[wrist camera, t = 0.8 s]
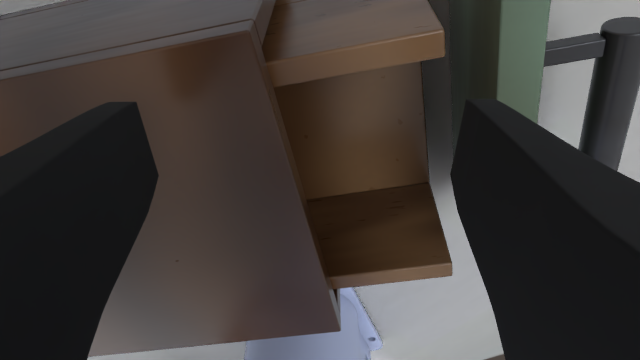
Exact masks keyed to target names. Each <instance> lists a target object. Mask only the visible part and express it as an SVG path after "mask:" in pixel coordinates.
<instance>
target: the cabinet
mask: <svg viewBox="0 0 640 360" xmlns="http://www.w3.org/2000/svg"><path fill="white" fill-rule="evenodd" d="M275 2H276V0H68V1H64V2H59V3H55V4H50V5H46V6H41V7H37V8H32V9H28V10H23V11H19V12H15V13H10V14H6V15H1V16H0V157H1V156H3V155H5V154H7V153H9V152H11V151H13V150H15V149H17V148H19V147H21V146H23V145H24V144H26V143H28V142H30V141H32V140H34V139H36V138H38V137H39V136H41V135H43V134H45V133H47V132H49V131H50V130H52V129H54V128H56V127H58V126H60V125H62V124H63V123H65V122H67V121H69V120H71V119H73V118H75V117H77V116H79V115H80V114H82V113H84V112H86V111H88V110H90V109H93V108H95V107H97V106H99V105H102V104H104V103H107V102H137V105H138V109H139V112H140V115H141V119H142V122H143V125H144V128H145V132H146V135H147V138H148V141H149V145H150V148H151V151H152V155H153V158H154V161H155V164H156V168H157V171H158V174H159V177H158V181H157V184H156V188H155V192H154V196H153V199H152V202H151V205H150V209H149V212H148V214H147V216H146V219H145V221H144V223H143V225H142V228H141V230H140V232H139V234H138V236H137V239H136V241H135V243H134V245H133V247H132V249H131V251H130V253H129V255H128V258H127V260H126V262H125V264H124V266H123V268H122V270H121V272H120V275H119V277H118V279H117V281H116V283H115V285H114V287H113V289H112V292H111V294H110V296H109V298H108V301H107V303H106V306H105V308H104V311H103V313H102V316H101V319H100V322H99V325H98V328H97V331H96V334H95V337H94V340H93V343H92V345H91V348H90V351H89V354H88V357H93V356H103V355H112V354H122V353H132V352H142V351H152V350H162V349H172V348H182V347H192V346H202V345H212V344H221V343H231V342H241V341H251V340H261V339H271V338H281V337H291V336H301V335H311V334H321V333H331V332H340V331H341V315H340V313H341V310H340V289H333V288H332V285H331V281H330V278H329V275H328V271H327V268H326V264H325V261H324V258H323V254H322V251H321V247H320V244H319V241H318V237H317V234H316V231H315V227H314V224H313V220H312V217H311V214H310V210H309V207H308V203H307V200H306V197H305V193H304V190H303V187H302V183H301V180H300V176H299V173H298V170H297V166H296V163H295V160H294V156H293V153H292V149H291V146H290V143H289V139H288V136H287V132H286V129H285V126H284V122H283V119H282V116H281V112H280V109H279V105H278V102H277V99H276V95H275V92H274V88H273V85H272V82H271V78H270V75H269V72H268V68H267V65H266V61H265V58H264V55H263V51H262V48H261V47H262V44H263V41H264V37H265V34H266V31H267V28H268V24H269V21H270V18H271V15H272V11H273V8H274V5H275Z"/></svg>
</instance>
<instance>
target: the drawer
mask: <svg viewBox="0 0 640 360" xmlns="http://www.w3.org/2000/svg"><path fill="white" fill-rule="evenodd" d="M550 3H551V0H449V14H450V54H451V94H452V135H453V160H454V155H455V150H456V145H457V140H458V135H459V131H460V126H461V121H462V116H463V111H464V106H465V101H466V99H496V100H498V101H500V102H502V103H504V104H506V105H507V106H509V107H511V108H512V109H514V110H516V111H517V112H519V113H521V114H522V115H524V116H525V117H527V118H528V119H530V120H532V121H533V122H535V123H536V124H537V119H538V110H539V101H540V92H541V83H542V74H543V67H545V66H551V65H557V64H563V63H569V62H574V61H580V60H586V59H592V58H595V62H594V68H593V73H592V79H591V84H590V89H589V95H588V100H587V105H586V111H585V116H584V122H583V127H582V132H581V138H580V143H579V148H578V150H580V151H581V152H583V153H585V154H586V155H588V156H590V157H592V158H594V159H595V160H597V161H599V162H601V163H603V164H605V165H606V166H608V167H610V168H612V169H614V170H615V171H617V170H618V166H619V163H620V159H621V155H622V151H623V147H624V143H625V140H626V136H627V132H628V128H629V124H630V120H631V116H632V113H633V109H634V105H635V101H636V97H637V93H638V90H639V86H640V18H638V17H621V18H615V19H611V20H608V21H606V22H604V23H603V25H602V26H601V30H600V34H599V33H593V34H587V35H582V36H576V37H571V38H565V39H560V40H554V41H549V42H546V38H547V29H548V20H549V12H550ZM261 48H262V51H263V55H264V58H265V61H266V65H267V68H268V72H269V75H270V78H271V82H272V85H273V88H274V92H275V95H276V99H277V102H278V105H279V109H280V112H281V116H282V119H283V122H284V126H285V129H286V132H287V136H288V139H289V143H290V146H291V149H292V153H293V156H294V160H295V163H296V166H297V170H298V173H299V176H300V180H301V183H302V187H303V190H304V193H305V197H306V200H307V203H308V207H309V210H310V214H311V217H312V220H313V224H314V227H315V231H316V234H317V237H318V241H319V244H320V247H321V251H322V254H323V258H324V261H325V264H326V268H327V271H328V275H329V278H330V281H331V285H332V288H333V289H341V288H350V287H359V286H368V285H376V284H385V283H394V282H403V281H411V280H420V279H429V278H438V277H446V276H452V261H451V257H450V254H449V250H448V247H447V243H446V239H445V236H444V232H443V229H442V225H441V221H440V218H439V214H438V211H437V207H436V204H435V200H434V196H433V193H432V189H431V186H430V181H429V166H428V152H427V137H426V122H425V107H424V92H423V78H422V63H421V61H424V60H430V59H435V58H441V57H444V56H445V30H444V29H443V27H442V25H441V23H440V21H439V20H438V18H437V16H436V14H435V12H434V11H433V9H432V7H431V5H430V3H429V2H428V0H276V2H275V5H274V8H273V11H272V15H271V18H270V21H269V24H268V28H267V31H266V34H265V37H264V41H263V44H262V47H261Z"/></svg>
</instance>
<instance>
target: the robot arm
mask: <svg viewBox="0 0 640 360" xmlns="http://www.w3.org/2000/svg"><path fill="white" fill-rule="evenodd" d="M450 175H451V180H452V186H453V191H454V196H455V200H456V205H457V210H458V213H459V216H460V219H461V222H462V225H463V227H464V230H465V233H466V236H467V239H468V241H469V244H470V247H471V249H472V252H473V255H474V257H475V260H476V263H477V266H478V268H479V271H480V274H481V276H482V279H483V282H484V285H485V287H486V290H487V293H488V295H489V299H490V302H491V305H492V308H493V311H494V315H495V319H496V323H497V327H498V331H499V335H500V339H501V343H502V347H503V351H504V355H505V359H506V360H640V183H639V182H637V181H635V180H633V179H631V178H629V177H627V176H625V175H623V174H621V173H619V172H617V171H615V170H614V169H612V168H610V167H608V166H606V165H605V164H603V163H601V162H599V161H597V160H595V159H594V158H592V157H590V156H588V155H586V154H585V153H583V152H581V151H580V150H578V149H576V148H575V147H573V146H571V145H570V144H568V143H566V142H565V141H563V140H561V139H560V138H558V137H557V136H555V135H554V134H552V133H550V132H549V131H547V130H546V129H544V128H542V127H541V126H539V125H538V124H536V123H535V122H533V121H532V120H530V119H528V118H527V117H525V116H524V115H522V114H521V113H519V112H517V111H516V110H514V109H512V108H511V107H509V106H507V105H506V104H504V103H502V102H500V101H498V100H496V99H466V101H465V106H464V111H463V116H462V121H461V126H460V131H459V135H458V140H457V145H456V150H455V155H454V160H453V164H452V169H451V174H450ZM158 177H159V174H158V171H157V168H156V164H155V161H154V158H153V155H152V151H151V148H150V145H149V141H148V138H147V135H146V132H145V128H144V125H143V122H142V119H141V115H140V112H139V109H138V105H137V102H107V103H104V104H102V105H99V106H97V107H95V108H93V109H90V110H88V111H86V112H84V113H82V114H80V115H79V116H77V117H75V118H73V119H71V120H69V121H67V122H65V123H63V124H62V125H60V126H58V127H56V128H54V129H52V130H50V131H49V132H47V133H45V134H43V135H41V136H39V137H38V138H36V139H34V140H32V141H30V142H28V143H26V144H24V145H23V146H21V147H19V148H17V149H15V150H13V151H11V152H9V153H7V154H5V155H3V156H1V157H0V360H87V358H88V354H89V351H90V348H91V345H92V343H93V340H94V337H95V334H96V331H97V328H98V325H99V322H100V319H101V316H102V313H103V311H104V308H105V306H106V303H107V301H108V298H109V296H110V294H111V292H112V289H113V287H114V285H115V283H116V281H117V279H118V277H119V275H120V272H121V270H122V268H123V266H124V264H125V262H126V260H127V258H128V255H129V253H130V251H131V249H132V247H133V245H134V243H135V241H136V239H137V236H138V234H139V232H140V230H141V228H142V225H143V223H144V221H145V219H146V216H147V214H148V212H149V209H150V205H151V202H152V199H153V196H154V192H155V188H156V184H157V181H158ZM340 310H341V313H340V315H341V331H340V332H331V333H321V334H311V335H301V336H291V337H281V338H271V339H261V340H251V341H247V343H246V350H245V356H244V360H371V356H370V351H374V350H378V349H381V348H382V347H383V343H382V340H381V338H380V336H379V334H378V332H377V331H376V329H375V327H374V325H373V323H372V321H371V320H370V318H369V316H368V314H367V312H366V310H365V309H364V307H363V305H362V303H361V301H360V300H359V298H358V296H357V294H356V292H355V290H354V289H353V287H350V288H341V289H340Z"/></svg>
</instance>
